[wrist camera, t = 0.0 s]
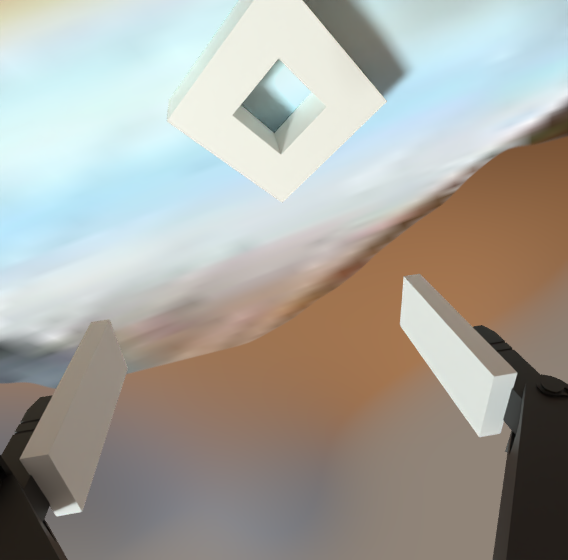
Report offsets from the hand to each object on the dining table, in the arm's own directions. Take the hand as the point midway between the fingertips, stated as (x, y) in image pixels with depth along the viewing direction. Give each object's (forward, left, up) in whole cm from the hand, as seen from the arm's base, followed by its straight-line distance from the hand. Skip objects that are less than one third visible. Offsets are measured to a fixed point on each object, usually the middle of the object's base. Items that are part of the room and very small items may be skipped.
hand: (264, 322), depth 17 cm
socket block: (-2, +4, -28) cm, 28 cm away
